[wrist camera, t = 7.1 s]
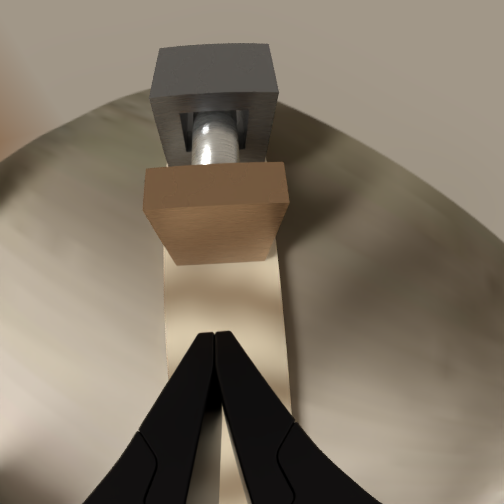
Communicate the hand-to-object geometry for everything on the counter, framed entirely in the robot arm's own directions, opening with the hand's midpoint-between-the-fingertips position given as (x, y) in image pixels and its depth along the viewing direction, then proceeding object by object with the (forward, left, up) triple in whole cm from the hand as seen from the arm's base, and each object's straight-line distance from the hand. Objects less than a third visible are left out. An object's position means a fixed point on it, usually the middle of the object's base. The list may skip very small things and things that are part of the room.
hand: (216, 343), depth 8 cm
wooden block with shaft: (+11, -2, -12) cm, 17 cm away
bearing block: (+15, -3, -13) cm, 20 cm away
